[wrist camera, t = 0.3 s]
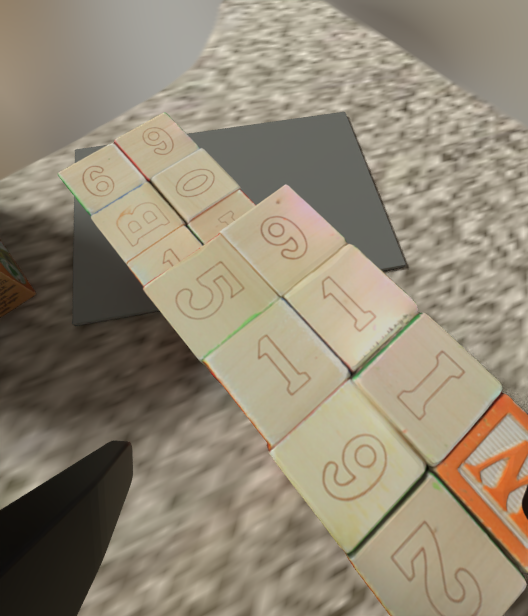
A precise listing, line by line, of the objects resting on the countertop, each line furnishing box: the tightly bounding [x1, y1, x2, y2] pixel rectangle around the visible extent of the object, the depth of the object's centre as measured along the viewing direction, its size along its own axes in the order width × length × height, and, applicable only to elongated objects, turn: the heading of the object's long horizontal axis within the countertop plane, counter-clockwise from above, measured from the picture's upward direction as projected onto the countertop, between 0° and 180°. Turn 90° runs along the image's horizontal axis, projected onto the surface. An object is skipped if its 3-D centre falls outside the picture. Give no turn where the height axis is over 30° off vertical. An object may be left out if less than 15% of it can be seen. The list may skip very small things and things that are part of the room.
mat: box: [72, 112, 406, 326], centre depth 26 cm, size 16×24×1 cm, turn 101°
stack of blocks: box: [58, 112, 528, 616], centre depth 16 cm, size 21×6×12 cm, turn 40°
